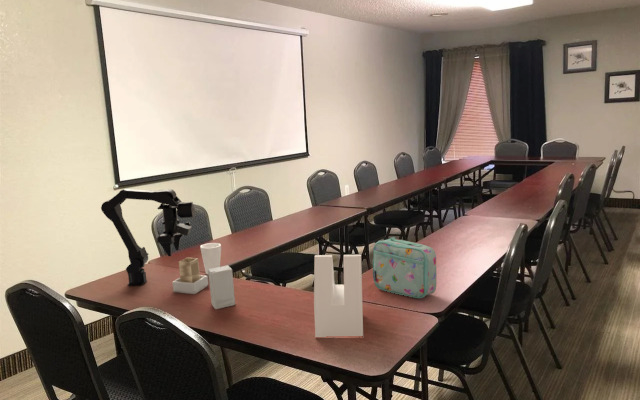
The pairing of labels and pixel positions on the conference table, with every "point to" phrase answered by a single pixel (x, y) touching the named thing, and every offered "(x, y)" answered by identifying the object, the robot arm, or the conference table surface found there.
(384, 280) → the lunch box
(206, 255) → the foam cup
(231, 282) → the skincare box
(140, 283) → the robot arm
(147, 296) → the conference table surface
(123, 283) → the conference table surface
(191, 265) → the birch caddy
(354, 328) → the white notched block
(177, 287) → the white tray
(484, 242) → the conference table surface
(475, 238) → the conference table surface
